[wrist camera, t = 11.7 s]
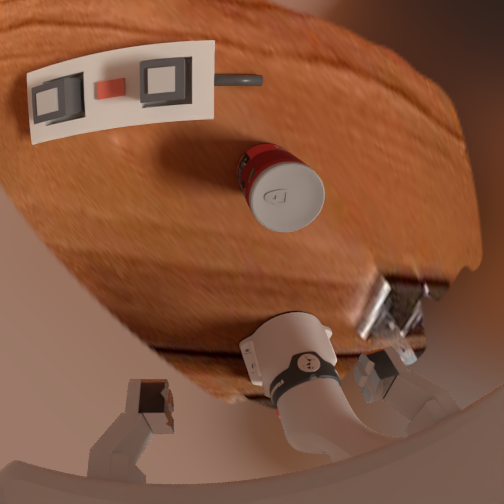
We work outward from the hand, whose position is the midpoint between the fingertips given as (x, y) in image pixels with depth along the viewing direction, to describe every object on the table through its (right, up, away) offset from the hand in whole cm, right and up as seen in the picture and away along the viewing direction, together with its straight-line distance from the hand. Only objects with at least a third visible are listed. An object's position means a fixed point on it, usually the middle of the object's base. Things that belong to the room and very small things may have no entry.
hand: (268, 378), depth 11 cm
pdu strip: (-13, +25, +19) cm, 34 cm away
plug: (-10, +24, +18) cm, 32 cm away
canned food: (+1, +16, +28) cm, 32 cm away
